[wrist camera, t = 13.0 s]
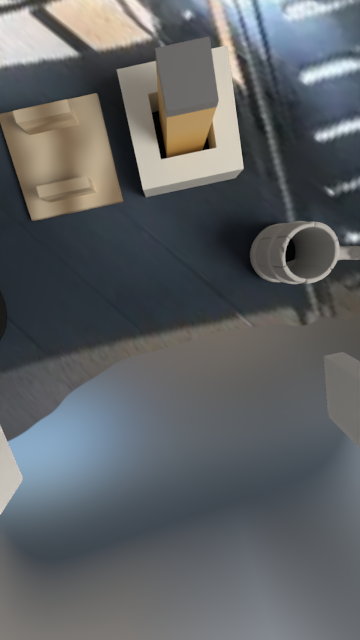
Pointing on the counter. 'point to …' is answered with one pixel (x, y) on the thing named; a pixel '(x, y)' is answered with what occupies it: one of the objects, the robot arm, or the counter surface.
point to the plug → (186, 95)
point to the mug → (298, 252)
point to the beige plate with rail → (62, 156)
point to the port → (187, 168)
